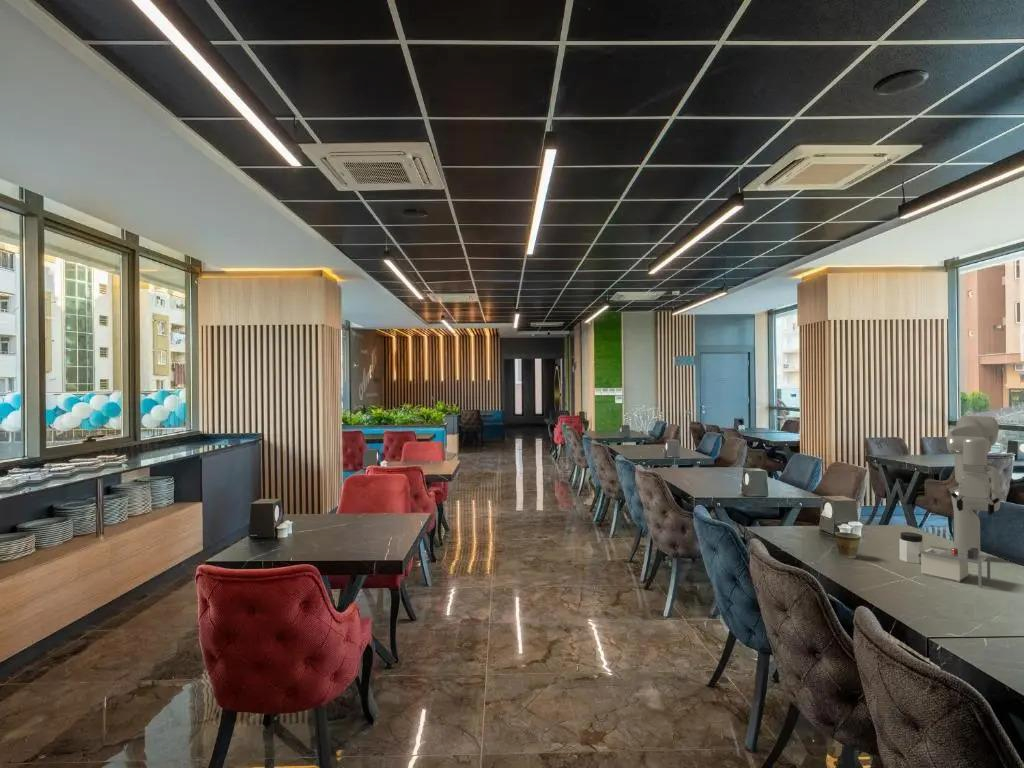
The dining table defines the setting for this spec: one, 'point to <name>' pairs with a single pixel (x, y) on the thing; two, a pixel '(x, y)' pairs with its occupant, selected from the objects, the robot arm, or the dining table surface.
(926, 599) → the dining table surface
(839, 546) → the ceramic cup
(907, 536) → the jar
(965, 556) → the lid
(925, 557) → the white box with rails
